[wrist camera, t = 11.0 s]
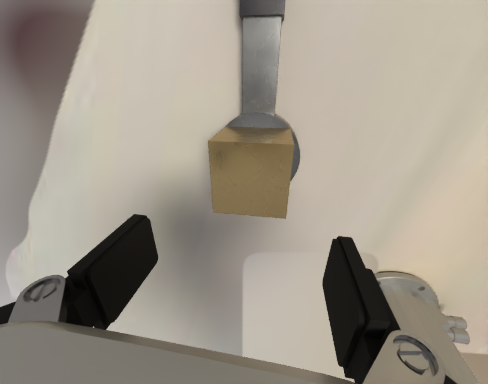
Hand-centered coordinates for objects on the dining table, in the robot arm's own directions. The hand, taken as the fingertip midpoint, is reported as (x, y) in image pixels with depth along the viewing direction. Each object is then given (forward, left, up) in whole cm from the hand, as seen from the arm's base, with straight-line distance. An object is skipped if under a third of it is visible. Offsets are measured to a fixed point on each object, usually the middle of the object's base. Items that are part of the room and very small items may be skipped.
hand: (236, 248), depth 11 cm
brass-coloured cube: (0, 0, -13) cm, 13 cm away
